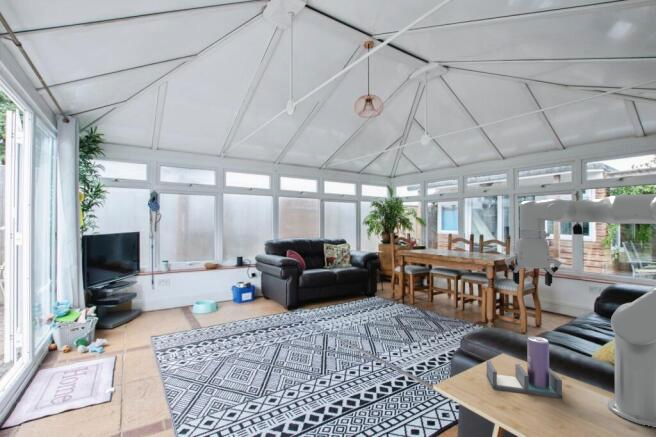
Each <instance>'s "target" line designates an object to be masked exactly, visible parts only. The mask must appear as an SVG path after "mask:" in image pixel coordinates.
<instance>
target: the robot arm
mask: <svg viewBox="0 0 656 437" xmlns="http://www.w3.org/2000/svg"><path fill="white" fill-rule="evenodd" d="M546 221H548V222H555V223H602V224H603V223H604V224H617V225H618V224H630V225H631V224H636V225H637V224H639V225H641V224H642V225H645V224H646V225H647V224H650V225H656V193H650V194H649V193H648V194H647V193H646V194H625V195H624V194H623V195H622V194H620V195H618V194H617V195H610V196H607V197H603V198H598V199H587V200H564V199H560V198H553V199H546V200H525V201H521V203H520V204H519V239H518V238H517V239H516V242H515V248H514V255H511V256H510V257H507V258H505V259H504V263H505V265H506V266H507V268H508V269H509V270H511V272H512V281H513V282H514V283H513V284H516V285H519V284H520V272H519V271H520V270H521V269H522V268H523V269H524V268H525V269H543V270H544V271H545V273H544V284H545V286H548V287H552V284H553V275H554V274H555V273H556V272H558V270H559V268H561V266H562V265H561V264H562V262H561V261H560V260H558V259H556V258H554V257H551V253H550V246H549V243H548V240H546V238H549V237H550V235H551V234H550V233H549V232H546ZM512 261H513V263H514V266H513V265H512ZM551 262H552V263H553V264H554V265H553V266H552V267H551ZM610 327H611V329H612V331H613V333H614V398H611V399H609V400H608V401H607V406H608V408H609V409H610V410H611V411H612V413H614V414H616V415H617V416H618V417H621V418H623V419H625V420H628V421H630V422H632V423H635V424H638V425H641V424H642V426H645V425H648V426H647V427H649V426H654V427H653V428H655V426H656V284H655V285H653V287H652V288H651V289H650V290H649V291H648V292H646V293H644V294H643V295H641V296H639V297H638V298H636V299H635V300H633V301H632V302H626V303H623V304H621V305H619V306H618V307H617V308H616V309H615V311H614V312H613V314H612V315H611V319H610Z"/></svg>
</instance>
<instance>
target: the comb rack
mask: <svg viewBox="0 0 656 437" xmlns="http://www.w3.org/2000/svg"><path fill="white" fill-rule="evenodd" d="M486 378H487V379H488V382H489V384H490V386H491V388H492V389H493V390H494V389H495V390H501V391H508V392H509V391H510V392H516V393H522V394H523V393H524V394H530V395H536V396H543V397H551V398H557V399H563V380H562V379H561V378H560V377H559V376H558V374H556V372H554V371H553V370H552V368H550V367H549V387H548V388H547V389H540V388H536V387H533V386H531V385H530V384H529V376H528V375H527V371H525V369H524V368H523V367H522V366H521V365H520V363H515V376H512V375H504V374H498V372H497V370H496V368H495V367H494V364H493V363H492V362H491V360H488V359H487V360H486Z"/></svg>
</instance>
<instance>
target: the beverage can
mask: <svg viewBox="0 0 656 437" xmlns="http://www.w3.org/2000/svg"><path fill="white" fill-rule="evenodd" d="M526 342H527V344H526V346H527V348H526V349H527V351H526V352H527V356H526V357H527V364H526V365H527V368H526V369H527V371H526V373H527V375H528V376H529V384H530V385H531V386H533V387H536V388H540V389H547V388H548V387H549V368H550V343H549V340H548V339H546V338H544V337H541V336H534V335H533V336H528V337H527V341H526Z"/></svg>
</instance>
